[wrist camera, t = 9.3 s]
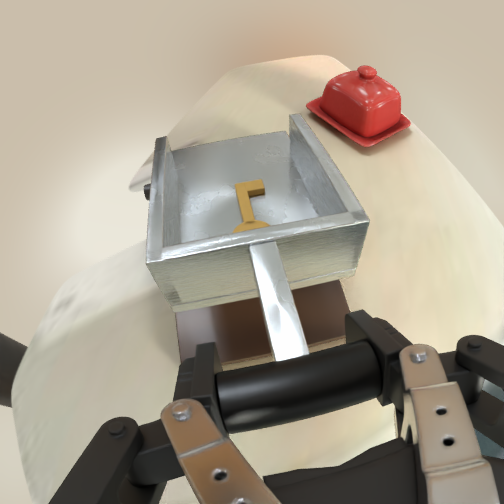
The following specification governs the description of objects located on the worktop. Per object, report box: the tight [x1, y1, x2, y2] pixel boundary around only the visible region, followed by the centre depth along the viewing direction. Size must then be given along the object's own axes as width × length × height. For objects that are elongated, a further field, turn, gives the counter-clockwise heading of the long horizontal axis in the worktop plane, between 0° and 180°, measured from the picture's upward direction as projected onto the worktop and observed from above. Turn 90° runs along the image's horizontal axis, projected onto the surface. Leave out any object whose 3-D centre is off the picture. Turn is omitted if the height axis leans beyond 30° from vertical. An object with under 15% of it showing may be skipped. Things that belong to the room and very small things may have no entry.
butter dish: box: [306, 66, 411, 147], centre depth 35 cm, size 12×12×8 cm
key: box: [233, 179, 270, 233], centre depth 19 cm, size 6×3×1 cm, turn 11°
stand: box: [144, 184, 350, 365], centre depth 24 cm, size 13×14×9 cm
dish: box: [146, 114, 383, 434], centre depth 17 cm, size 22×10×5 cm, turn 11°
